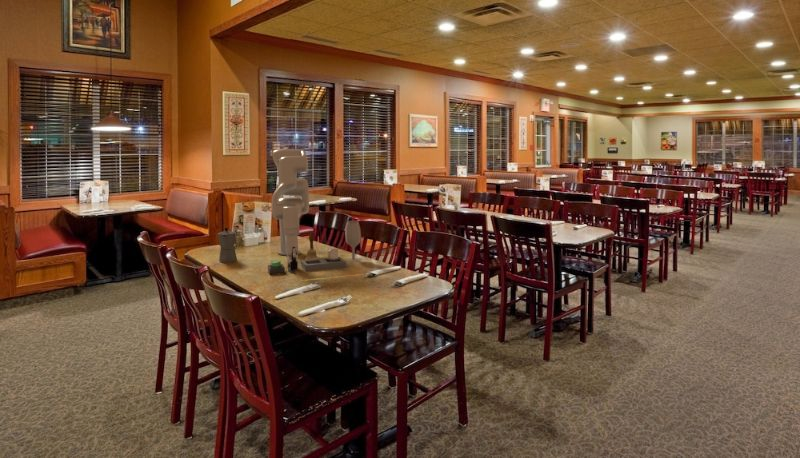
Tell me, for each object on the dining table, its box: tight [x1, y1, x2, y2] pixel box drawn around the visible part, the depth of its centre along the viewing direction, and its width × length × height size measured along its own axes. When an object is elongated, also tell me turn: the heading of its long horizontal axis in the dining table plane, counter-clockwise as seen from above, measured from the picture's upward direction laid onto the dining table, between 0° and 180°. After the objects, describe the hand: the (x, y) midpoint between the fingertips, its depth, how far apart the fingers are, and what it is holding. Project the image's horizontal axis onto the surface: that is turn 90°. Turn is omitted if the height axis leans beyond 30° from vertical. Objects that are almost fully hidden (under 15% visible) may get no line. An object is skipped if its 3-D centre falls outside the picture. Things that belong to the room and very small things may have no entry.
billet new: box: [286, 254, 299, 273], centre depth 244 cm, size 5×5×8 cm
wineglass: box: [344, 220, 362, 263], centre depth 263 cm, size 9×9×21 cm
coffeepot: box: [216, 227, 238, 264], centre depth 267 cm, size 15×9×18 cm, turn 8°
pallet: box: [300, 256, 347, 272], centre depth 250 cm, size 12×20×4 cm, turn 112°
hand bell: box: [304, 230, 320, 260], centre depth 265 cm, size 8×8×16 cm
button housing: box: [267, 263, 286, 276], centre depth 242 cm, size 7×7×3 cm
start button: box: [270, 260, 282, 268], centre depth 242 cm, size 4×4×2 cm
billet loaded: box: [327, 248, 339, 262], centre depth 252 cm, size 5×5×8 cm
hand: (292, 267), depth 245 cm, fingers closed on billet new, 5 cm apart
